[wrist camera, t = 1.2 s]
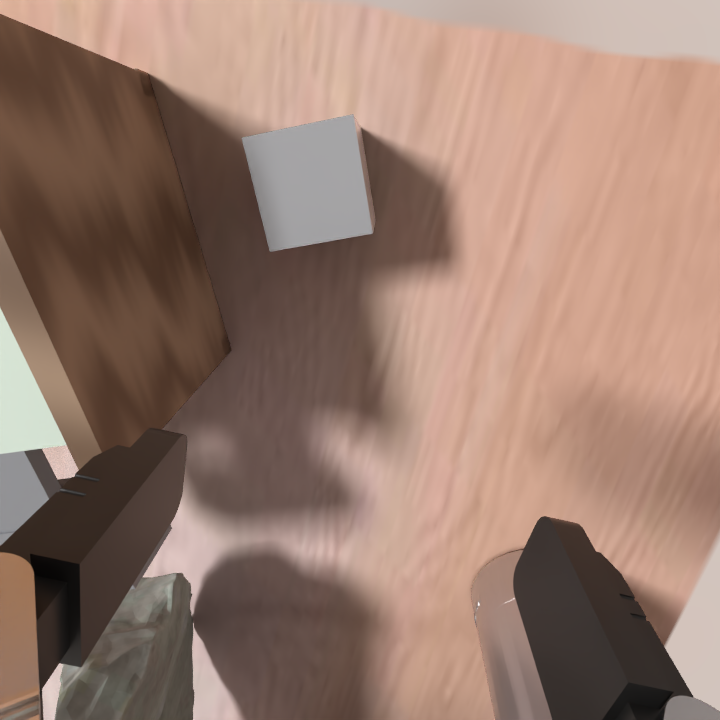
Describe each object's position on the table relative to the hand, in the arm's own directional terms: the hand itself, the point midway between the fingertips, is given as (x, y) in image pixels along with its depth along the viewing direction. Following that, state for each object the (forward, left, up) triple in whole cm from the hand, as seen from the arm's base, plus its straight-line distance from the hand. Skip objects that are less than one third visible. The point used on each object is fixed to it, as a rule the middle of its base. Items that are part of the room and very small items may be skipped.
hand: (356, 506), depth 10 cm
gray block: (+2, -7, -20) cm, 21 cm away
